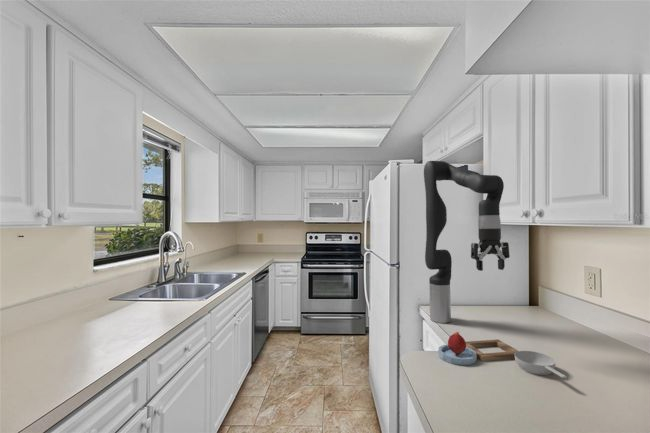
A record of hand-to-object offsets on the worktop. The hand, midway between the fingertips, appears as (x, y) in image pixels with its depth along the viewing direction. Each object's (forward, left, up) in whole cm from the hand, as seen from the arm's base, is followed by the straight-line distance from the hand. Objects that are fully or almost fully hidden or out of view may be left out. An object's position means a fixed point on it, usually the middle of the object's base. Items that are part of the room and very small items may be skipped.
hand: (490, 270), depth 117 cm
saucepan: (+23, 0, -28) cm, 37 cm away
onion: (+8, -19, -28) cm, 34 cm away
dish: (+8, -19, -28) cm, 35 cm away
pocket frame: (+6, -5, -28) cm, 29 cm away
